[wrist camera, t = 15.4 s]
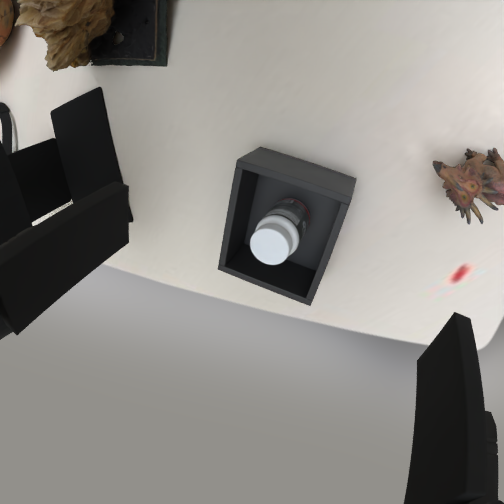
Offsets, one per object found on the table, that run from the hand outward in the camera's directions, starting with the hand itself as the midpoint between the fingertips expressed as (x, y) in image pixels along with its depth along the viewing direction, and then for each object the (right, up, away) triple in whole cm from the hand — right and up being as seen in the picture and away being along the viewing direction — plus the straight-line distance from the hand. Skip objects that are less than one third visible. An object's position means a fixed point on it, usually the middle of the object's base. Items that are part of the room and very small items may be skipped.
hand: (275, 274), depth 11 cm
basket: (+4, +5, +28) cm, 28 cm away
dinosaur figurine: (+24, +9, +17) cm, 31 cm away
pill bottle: (+4, +5, +27) cm, 28 cm away
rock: (-20, +36, +17) cm, 45 cm away
